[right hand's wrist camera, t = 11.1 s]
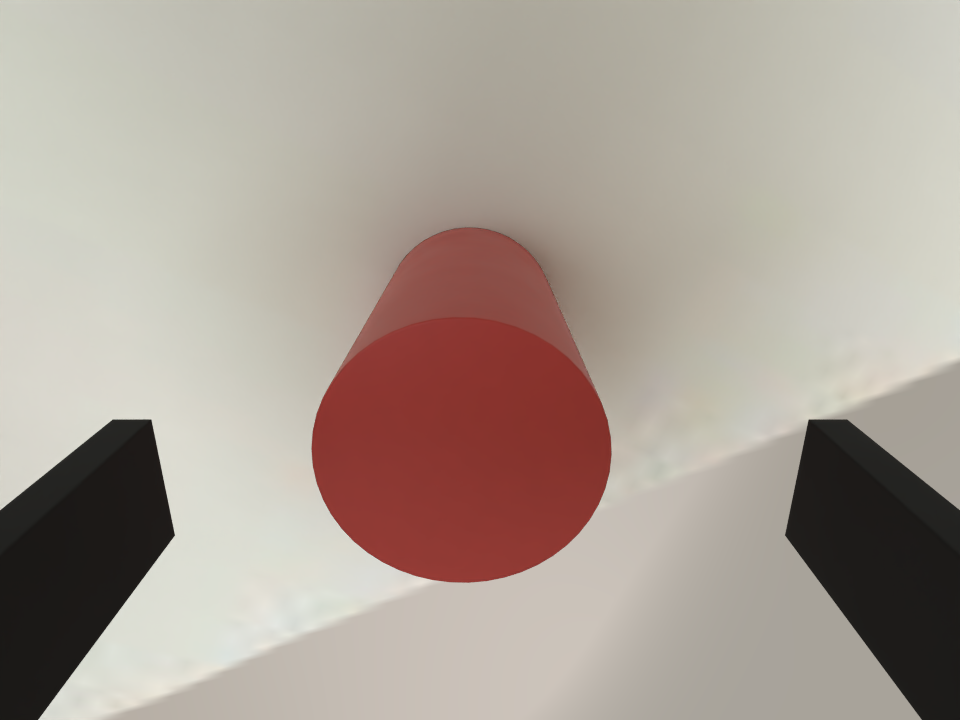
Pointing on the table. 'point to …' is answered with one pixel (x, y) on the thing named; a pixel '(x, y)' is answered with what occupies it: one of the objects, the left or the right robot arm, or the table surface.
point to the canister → (463, 418)
